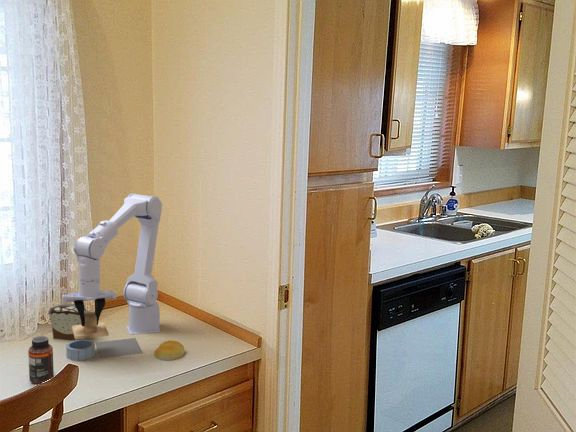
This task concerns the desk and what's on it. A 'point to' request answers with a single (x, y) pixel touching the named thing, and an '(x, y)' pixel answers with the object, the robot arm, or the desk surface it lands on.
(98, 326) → the lid
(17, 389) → the desk surface
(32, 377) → the supplement bottle
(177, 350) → the bread roll
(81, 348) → the bowl
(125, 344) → the mat
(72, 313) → the food container
